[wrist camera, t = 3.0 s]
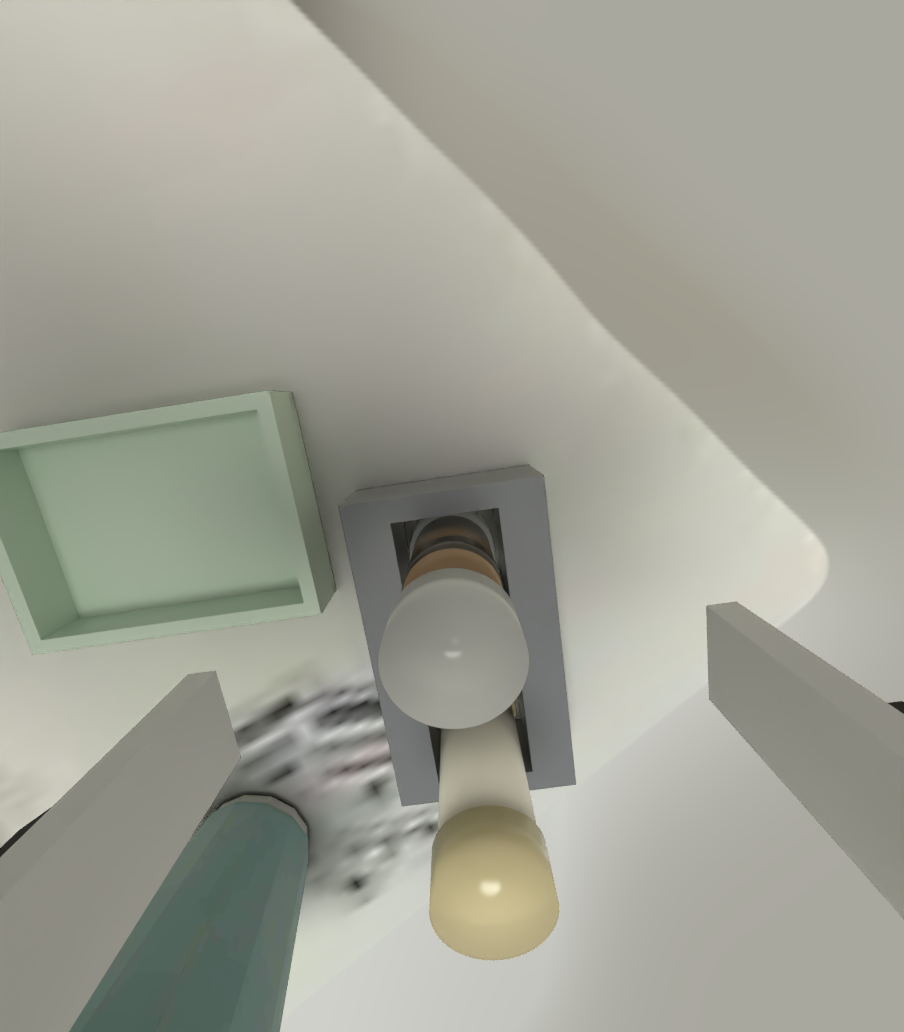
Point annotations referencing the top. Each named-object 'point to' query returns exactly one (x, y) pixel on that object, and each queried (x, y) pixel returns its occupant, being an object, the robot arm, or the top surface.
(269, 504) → the parts tray
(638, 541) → the top surface
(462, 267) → the top surface
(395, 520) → the grey rectangular block
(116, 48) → the top surface
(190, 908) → the disposable coffee cup
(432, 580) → the cylinder
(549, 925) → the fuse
